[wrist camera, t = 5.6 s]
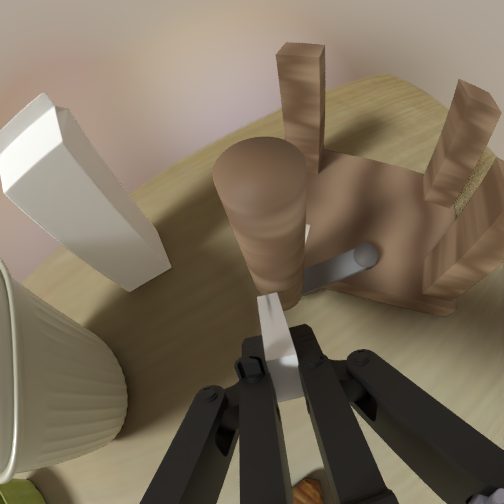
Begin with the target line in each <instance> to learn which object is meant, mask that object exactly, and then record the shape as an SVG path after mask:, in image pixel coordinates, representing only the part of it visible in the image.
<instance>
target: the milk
mask: <svg viewBox="0 0 504 504" xmlns="http://www.w3.org/2000/svg"><path fill="white" fill-rule="evenodd" d="M0 175H1V182H2V188H3V192H4V194H5V195H6V196H7V197H8V198H9V199H10V200H11V201H12V202H13V203H14V204H15V205H16V206H18V207H19V208H20V209H21V210H22V211H23V212H24V213H25V214H27V215H28V216H29V217H30V218H31V219H32V220H33V221H34V222H36V223H37V224H38V225H39V226H40V227H42V228H43V229H44V230H45V231H46V232H48V233H49V234H50V235H51V236H52V237H54V238H55V239H56V240H58V241H59V242H60V243H61V244H62V245H64V246H65V247H66V248H67V249H69V250H70V251H71V252H73V253H74V254H75V255H77V256H78V257H79V258H81V259H82V260H83V261H85V262H86V263H87V264H89V265H90V266H91V267H93V268H94V269H96V270H97V271H98V272H100V273H101V274H103V275H104V276H105V277H107V278H108V279H110V280H111V281H113V282H114V283H116V284H117V285H119V286H120V287H122V288H123V289H125V290H126V291H128V292H131V291H133V290H134V289H136V288H138V287H139V286H141V285H143V284H144V283H146V282H148V281H150V280H151V279H153V278H155V277H156V276H158V275H160V274H162V273H163V272H165V271H167V270H168V269H170V268H171V264H170V262H169V259H168V257H167V254H166V252H165V249H164V247H163V244H162V242H161V239H160V237H159V234H158V231H157V229H156V228H155V227H154V226H153V224H152V223H151V222H150V221H149V219H148V218H147V217H146V216H145V214H144V213H143V212H142V211H141V209H140V208H139V207H138V205H137V204H136V203H135V202H134V200H133V199H132V198H131V196H130V195H129V194H128V192H127V191H126V190H125V188H124V187H123V186H122V185H121V183H120V182H119V181H118V179H117V178H116V177H115V175H114V174H113V172H112V171H111V170H110V168H109V167H108V166H107V164H106V163H105V162H104V160H103V159H102V157H101V156H100V155H99V153H98V152H97V150H96V149H95V148H94V146H93V145H92V143H91V142H90V140H89V139H88V137H87V136H86V135H85V133H84V132H83V130H82V129H81V127H80V126H79V124H78V123H77V121H76V120H75V118H74V117H73V115H72V114H71V112H70V111H69V109H67V108H63V107H58V106H55V105H54V104H53V102H52V101H51V99H50V98H49V96H48V95H47V94H46V93H41V94H40V95H39V96H38V97H36V98H35V99H34V100H33V101H32V102H30V103H29V104H28V105H27V106H26V107H25V108H23V109H22V110H21V111H20V112H19V113H18V114H17V115H16V116H15V117H14V118H13V119H12V120H11V121H10V122H8V123H7V124H6V126H5V127H3V129H2V130H1V131H0Z"/></svg>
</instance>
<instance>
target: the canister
mask: <svg viewBox="0 0 504 504" xmlns="http://www.w3.org/2000/svg"><path fill="white" fill-rule="evenodd" d="M127 398H128V395H127V386H126V383H125V377H124V375H123V373H122V368H121V367H120V365H119V363H118V360H117V358H116V357H115V356H114V354H113V352H112V350H111V349H110V348H108V346H107V345H106V343H105V342H104V341H102V340H101V339H100V338H99V337H98V336H97V335H95V334H94V333H92V332H91V331H89V330H88V329H86V328H84V327H83V326H81V325H80V324H78V323H77V322H75V321H74V320H72V319H71V318H69V317H67V316H66V315H64V314H63V313H61V312H60V311H58V310H57V309H55V308H54V307H52V306H51V305H49V304H48V303H46V302H45V301H43V300H42V299H41V298H39V297H38V296H36V295H35V294H34V293H32V292H31V291H30V290H28V289H27V288H26V287H24V286H23V285H22V284H20V283H19V282H18V281H16V280H15V279H14V278H12V277H11V274H10V272H9V270H8V268H7V266H6V265H5V263H4V262H3V260H2V259H1V258H0V484H5V483H7V482H8V481H9V480H11V479H12V477H13V476H14V475H15V473H21V472H27V471H31V470H36V469H39V468H43V467H47V466H51V465H55V464H58V463H62V462H65V461H68V460H71V459H74V458H77V457H80V456H82V455H85V454H88V453H90V452H93V451H95V450H97V449H99V448H101V447H103V446H105V445H107V444H108V443H109V442H110V441H111V440H113V439H114V438H115V437H116V435H117V433H119V432H120V430H121V426H122V425H123V424H124V419H125V416H126V415H127V412H126V410H127V407H128V403H127Z"/></svg>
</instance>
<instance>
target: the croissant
mask: <svg viewBox="0 0 504 504" xmlns="http://www.w3.org/2000/svg"><path fill="white" fill-rule="evenodd" d="M292 493H293V499H294V504H324V500H323V494H322V489H321V485H320V482H319V481H317V480H314V479H312V478H304V479H303V480H302V481H301V482H300V483H298V484H297V485H296V486H294V487H293V488H292Z"/></svg>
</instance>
